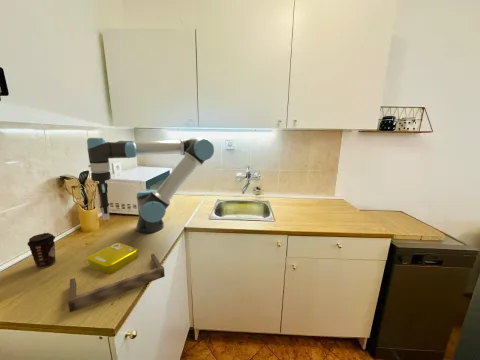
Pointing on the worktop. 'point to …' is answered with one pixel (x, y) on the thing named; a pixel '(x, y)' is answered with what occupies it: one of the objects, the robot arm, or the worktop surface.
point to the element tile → (112, 258)
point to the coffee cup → (43, 249)
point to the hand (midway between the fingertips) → (106, 219)
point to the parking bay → (113, 287)
